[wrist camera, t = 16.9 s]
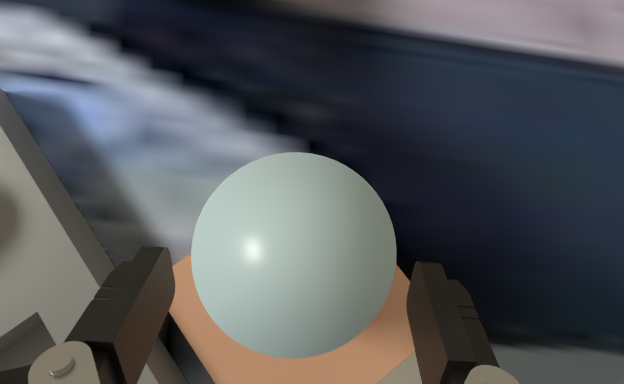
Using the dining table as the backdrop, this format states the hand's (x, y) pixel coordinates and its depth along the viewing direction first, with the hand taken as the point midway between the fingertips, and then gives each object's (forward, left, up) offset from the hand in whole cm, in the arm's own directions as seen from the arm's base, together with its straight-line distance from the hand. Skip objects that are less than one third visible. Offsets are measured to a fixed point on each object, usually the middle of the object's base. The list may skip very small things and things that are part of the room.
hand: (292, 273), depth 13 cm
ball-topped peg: (0, 0, -8) cm, 8 cm away
